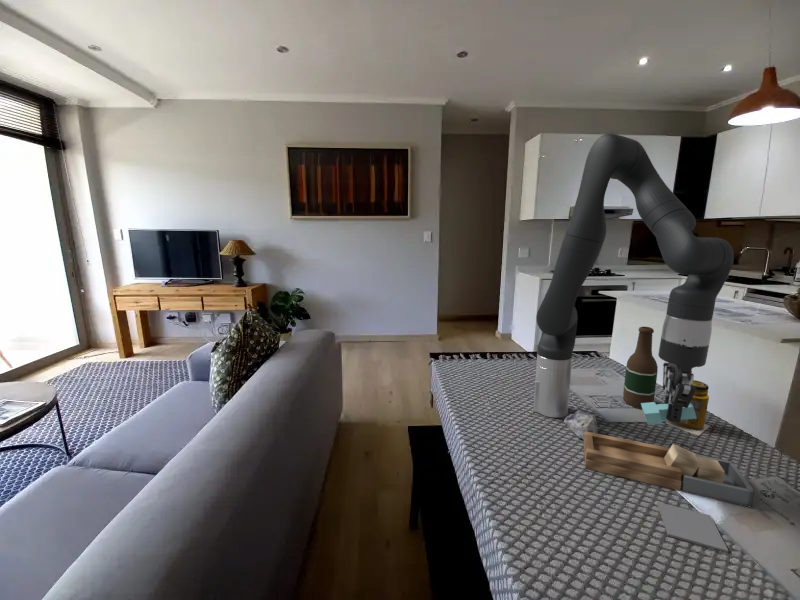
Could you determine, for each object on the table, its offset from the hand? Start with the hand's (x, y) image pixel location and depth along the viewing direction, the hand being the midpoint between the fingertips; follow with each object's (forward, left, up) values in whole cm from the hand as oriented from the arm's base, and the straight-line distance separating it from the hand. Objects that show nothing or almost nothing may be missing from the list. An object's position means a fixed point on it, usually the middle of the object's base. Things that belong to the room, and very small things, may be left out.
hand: (671, 417), depth 73 cm
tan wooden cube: (+2, 0, -12) cm, 12 cm away
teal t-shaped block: (-5, 0, 0) cm, 5 cm away
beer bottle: (+1, +35, -14) cm, 38 cm away
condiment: (+11, +26, -14) cm, 32 cm away
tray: (+8, 0, -13) cm, 15 cm away
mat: (+1, -15, -13) cm, 20 cm away
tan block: (+7, 0, -13) cm, 15 cm away
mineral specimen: (-16, +11, -14) cm, 23 cm away
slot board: (-7, 0, -13) cm, 15 cm away
